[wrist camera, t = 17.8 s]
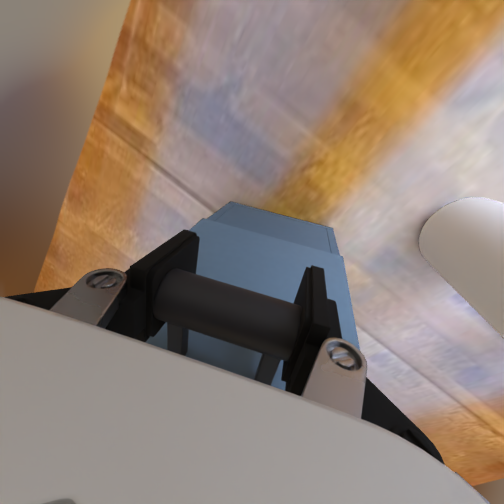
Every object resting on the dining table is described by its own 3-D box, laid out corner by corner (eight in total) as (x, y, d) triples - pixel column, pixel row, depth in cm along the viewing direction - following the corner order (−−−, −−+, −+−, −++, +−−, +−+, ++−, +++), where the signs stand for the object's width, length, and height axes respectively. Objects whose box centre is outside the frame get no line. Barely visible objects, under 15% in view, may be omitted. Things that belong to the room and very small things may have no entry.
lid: (377, 506, 8) (480, 439, 6) (39, 378, 10) (-12, 275, 7) (340, 263, 23) (364, 209, 20) (202, 225, 24) (206, 170, 21)
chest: (298, 321, 38) (294, 368, 30) (215, 295, 39) (190, 334, 31) (332, 228, 31) (341, 257, 23) (230, 201, 32) (204, 220, 24)
